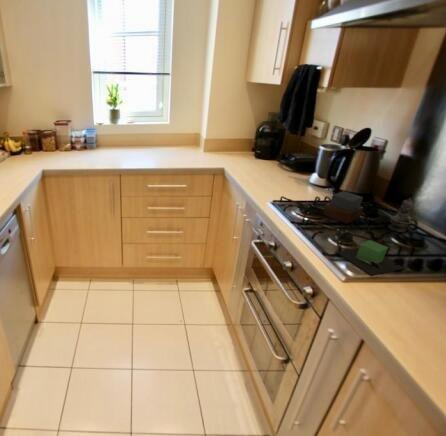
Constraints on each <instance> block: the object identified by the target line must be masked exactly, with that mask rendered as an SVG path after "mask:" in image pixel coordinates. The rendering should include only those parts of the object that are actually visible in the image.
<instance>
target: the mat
mask: <svg viewBox="0 0 446 436" xmlns="http://www.w3.org/2000/svg"><path fill="white" fill-rule="evenodd" d="M359 248H360V247H357V248H351V249H345V250H341V251H336V253H335V254H337V255H338V256H340V257H341V258H343V259H344V260H346V261H347V262H349V263H350V264H352V265H354V266H355V267H357V268H358V269H359V270H360V271H363V272H364V273H365V274H367V275H368V276H370V277H372V276H377V275H381V274H388V273H393V272H396V271H397V272H398V271H401V270H405V267H404V266H402V265H400V264H398V263H397V262H395V261H393V260H392V259H390V258H388V257H386V255H385V256H384V258H383V260H382V261H381V262H380V263H378V264H379V265H380V266H381V268H376V267H374V266H371V265H370V264H367V263H365V262H363V261H361V260H359V259H357V258H356V255H357V253H358V250H359ZM395 263H396V264H398V265H396V264H395ZM394 264H395V265H394Z"/></svg>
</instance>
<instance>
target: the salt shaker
mask: <svg viewBox="0 0 446 436" xmlns="http://www.w3.org/2000/svg"><path fill="white" fill-rule="evenodd" d="M414 206H415V202H414V200H412V197H409V198H408V199H403V201H402V203H401V205H400V207H398V212H397V214H396V215H391V216H390V224H388V225H387V228H389V229H390V230H392V231H395V232H399V233H404V232H407V227H408V226H409V225H411V224H412V222H413V221H412V220H411V219H410V218H409V217H410V214H411V213H412V212H413V210H412V209H413V207H414Z"/></svg>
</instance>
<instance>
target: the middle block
mask: <svg viewBox="0 0 446 436" xmlns="http://www.w3.org/2000/svg"><path fill="white" fill-rule="evenodd" d="M363 199H364V197H363V196H362V195H358V194H354V193H351V192H348V191H345V190H343V191H340V192H337V193H334V194H332V196H331V200H330V202H331V203H330V202H329V203H330V204H331V205H333V206H336V207H339V208H342V209H344V210H347V211H351V210H353V209H356V208H358V207H360V206H361V204H362V202H363Z"/></svg>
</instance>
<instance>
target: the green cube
mask: <svg viewBox="0 0 446 436" xmlns="http://www.w3.org/2000/svg"><path fill="white" fill-rule="evenodd" d="M358 248H359V250H358V253H357V255H356V257H358V258H357V259H359V258H361V259H363V260H366V261H368V262H374V263H376V262H379V261H381V260H383V258H384V256H385V257H386V254H387V251H388V249H389V247H388V246H385V245H384V244H380V243H378V242H376V241H374V240H371V239H369V240H366V241H365V242H363V243H361V244H360V245H359V247H358ZM361 259H359V260H361ZM363 260H361V261H363ZM363 262H365V261H363ZM365 263H367V262H365ZM379 263H380V262H379ZM367 264H369V263H367ZM370 265H371V264H370Z"/></svg>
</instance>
